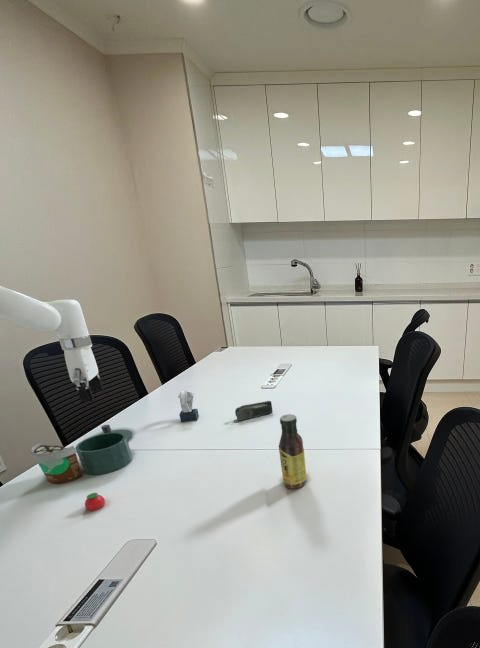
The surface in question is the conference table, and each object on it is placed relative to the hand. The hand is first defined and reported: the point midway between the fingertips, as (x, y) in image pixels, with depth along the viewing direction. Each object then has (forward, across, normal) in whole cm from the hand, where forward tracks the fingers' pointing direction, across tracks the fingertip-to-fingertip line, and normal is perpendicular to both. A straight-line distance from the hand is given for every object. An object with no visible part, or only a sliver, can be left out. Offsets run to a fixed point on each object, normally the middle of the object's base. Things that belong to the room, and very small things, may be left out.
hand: (93, 396), depth 123 cm
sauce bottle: (+16, +46, +56) cm, 75 cm away
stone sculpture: (+16, -11, +25) cm, 31 cm away
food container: (+17, +22, -6) cm, 28 cm away
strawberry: (+17, +41, +8) cm, 45 cm away
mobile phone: (+16, -4, +47) cm, 50 cm away
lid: (+16, -1, +1) cm, 16 cm away
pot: (+17, +16, +4) cm, 24 cm away
